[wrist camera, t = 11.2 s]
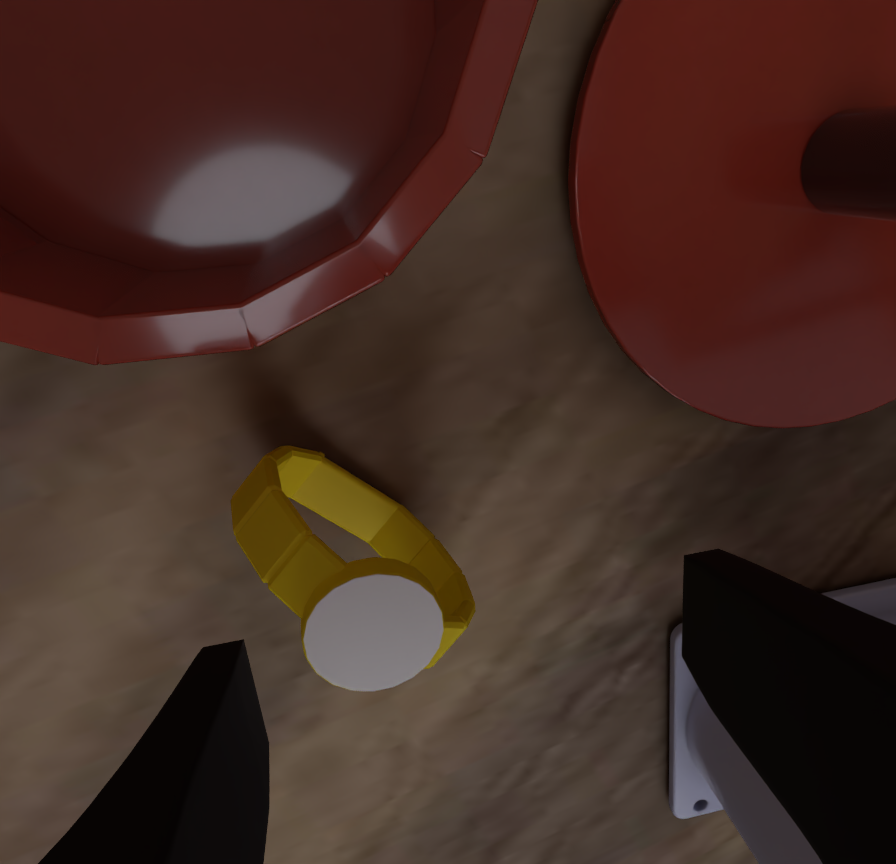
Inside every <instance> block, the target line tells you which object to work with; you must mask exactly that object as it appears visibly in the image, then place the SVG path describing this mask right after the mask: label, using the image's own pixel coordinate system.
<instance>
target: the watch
mask: <svg viewBox="0 0 896 864" xmlns="http://www.w3.org/2000/svg"><path fill="white" fill-rule="evenodd" d="M324 456H325V454H323V453H322V452H320V451H319V453H318V452H317V451H312V450H308V449H303V448H298V447H294V446H289V445H288V446H279V447H278V448H276V449H274V450H273V451H271V452H270V453H268V454H266V455H265V456H264V457H263V458H262V459H261V460H260V462H259V463H258V464H257V466H256V467H255V468H254V469H253V471H252V472H251V473H250V475H249V476H248V477H247V478H246V480H245V481H244V482H243V484H242V485H241V486H240V487H239V489H238V490H237V491H236V492H235V494H234V495H233V496H232V499H231V510H232V522H233V531H234V535H235V536H236V541H237V542H238V544H239V545H240V547H241V548H242V550H243V552H244V553H245V555H246V556H247V558H248V559H249V561H250V563H251V564H252V566H253V567H254V569H255V570H256V572H257V574H258V575H259V577H260V578H261V580H262V581H263V583H268V589H269V590H270V591H271V592H273V593H274V594H275V595H276V596H277V597H278V598H279V599H280V600H281V601H282V602H283V603H285V604H286V605H287V606H288V607H289V608H290V609H291V610H292V611H293V612H294V613H295V614H297V615H298V616H299V617H300V618H301V638H302V645H303V650H304V655H305V657H306V659H307V661H308V662H309V664H310V665H311V667H312V668H313V670H314V671H315V672H316V674H318V675H319V676H320V677H322V678H323V679H325V680H326V681H327V682H329V683H330V684H332V685H334V686H338V687H341V688H344V689H347V690H350V691H369V692H371V691H378V690H382V689H387V688H391V687H395V686H397V685H399V684H401V683H403V682H405V681H407V680H409V679H411V678H413V677H414V676H415V675H417V674H418V673H419V672H420V671H421V670H422V669H429V668H430V667H433V666H434V665H435V663H436V662H437V661H438V660H439V659H440V658H441V657H442V655H443V654H444V653H445V652H446V651H447V650H448V649H449V648H450V646H451V645H452V644H453V643H454V642H455V641H456V640H457V639H458V637H459V636H460V635H461V634H462V633H463V632H464V631H465V629H466V628H467V627H468V625H469V623H470V621H471V619H472V617H473V615H474V613H475V602H474V599H473V596H472V594H471V591H470V589H469V586H468V583H467V581H466V578H465V575H463V574H462V571H461V569H460V568H459V567H458V565H457V564H456V563H455V561H454V560H453V559H452V557H451V556H450V555H449V553H448V552H447V551H446V549H445V548H444V547H443V545H442V544H441V543H440V541H439V540H437V539H435V536H434V535H433V534H432V533H431V532H430V531H429V530H428V529H427V528H426V527H425V526H424V525H423V524H422V523H421V522H420V521H419V520H418V519H417V518H416V517H415V516H414V515H412V514H411V513H410V512H409V511H408V510H407V509H406V508H405V507H404V506H403V505H401V504H399V503H397V502H396V501H394V500H393V499H391V498H389V497H388V496H386V495H385V494H383V493H381V492H380V491H378V490H377V489H375V488H373V487H372V486H370V485H368V484H367V483H365V482H364V481H362V480H360V479H359V478H357V477H356V476H354V475H352V474H351V473H349V472H348V471H346V470H344V469H343V468H341V467H340V466H338V465H336V464H335V463H333V462H332V461H330V460H328V459H327V458H325V457H324ZM287 497H290V498H291V499H293V500H295V501H297V502H298V503H300V504H302V505H303V506H305V507H307V508H309V509H310V510H312V511H314V512H316V513H317V514H319V515H321V516H322V517H324V518H326V519H328V520H329V521H331V522H333V523H335V524H336V525H338V526H340V527H341V528H343V529H345V530H347V531H348V532H350V533H352V534H353V535H355V536H357V537H359V538H360V539H362V540H364V541H366V542H367V543H368V544H369V545H370V546H371V547H372V548H373V549H374V550H375V551H376V552H377V553H378V554H379V555H380V556H381V557H382V558H378V557H372V558H366V559H361V560H356V561H351V562H349V563H346V562H345V561H344V560H343V559H341V558H340V557H339V556H338V555H337V554H336V553H335V552H334V551H333V550H331V549H330V548H329V547H328V546H327V545H326V544H325V543H324V542H323V541H321V540H320V539H319V538H318V537H317V536H316V535H315V534H312V531H311V529H310V528H309V527H308V525H307V524H306V522H305V521H304V520H303V518H302V517H301V516H300V514H299V513H298V511H297V510H296V509H295V507H294V506H293V505H292V503H291V502H290V500H289V499H288V498H287Z"/></svg>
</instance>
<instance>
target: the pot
mask: <svg viewBox="0 0 896 864" xmlns="http://www.w3.org/2000/svg"><path fill="white" fill-rule="evenodd" d="M537 2H538V0H0V341H1V342H5V343H9V344H13V345H17V346H21V347H25V348H29V349H33V350H37V351H41V352H45V353H49V354H53V355H57V356H61V357H65V358H69V359H73V360H77V361H81V362H85V363H88V364H92V365H98V364H102V365H109V364H119V363H128V362H138V361H148V360H157V359H167V358H177V357H186V356H196V355H206V354H215V353H225V352H235V351H244V350H251V349H253V348H254V346H256V347H260V346H262V345H264V344H266V343H268V342H270V341H272V340H274V339H276V338H277V337H279V336H281V335H283V334H285V333H287V332H289V331H291V330H292V329H294V328H296V327H298V326H300V325H302V324H304V323H306V322H308V321H309V320H311V319H313V318H315V317H317V316H319V315H321V314H323V313H324V312H326V311H328V310H330V309H332V308H334V307H336V306H338V305H340V304H341V303H343V302H345V301H347V300H349V299H351V298H353V297H355V296H356V295H358V294H360V293H362V292H364V291H366V290H368V289H370V288H371V287H373V286H375V285H377V284H379V283H381V282H382V281H383V280H384V279H385V276H386V277H387V276H389V275H391V274H392V273H393V271H394V270H395V269H396V268H397V267H398V265H399V264H400V263H401V262H402V261H403V259H404V258H405V257H406V256H407V254H408V253H409V252H410V251H411V250H412V248H413V247H414V246H415V245H416V243H417V242H418V241H419V240H420V239H421V237H422V236H423V235H424V234H425V233H426V231H427V230H428V229H429V228H430V226H431V225H432V224H433V223H434V222H435V220H436V219H437V218H438V217H439V215H440V214H441V213H442V212H443V211H444V209H445V208H446V207H447V206H448V205H449V203H450V202H451V201H452V200H453V198H454V197H455V196H456V195H457V194H458V192H459V191H460V190H461V189H462V188H463V186H464V185H465V184H466V183H467V181H468V180H469V179H470V178H471V177H472V175H473V174H474V173H475V172H476V170H477V169H478V168H479V167H480V166H481V164H482V161H483V159H482V158H485V157H486V156H487V154H488V151H489V148H490V145H491V142H492V139H493V136H494V133H495V130H496V127H497V124H498V121H499V118H500V115H501V112H502V108H503V105H504V102H505V99H506V96H507V93H508V90H509V87H510V84H511V81H512V78H513V75H514V72H515V69H516V66H517V63H518V60H519V57H520V54H521V51H522V48H523V45H524V42H525V39H526V36H527V33H528V30H529V27H530V24H531V20H532V17H533V14H534V11H535V8H536V5H537Z"/></svg>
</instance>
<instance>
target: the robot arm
mask: <svg viewBox="0 0 896 864" xmlns="http://www.w3.org/2000/svg"><path fill="white" fill-rule="evenodd" d="M669 806H670V809H671V811H672V812H673V814H674V815H675V816H676V817H677V818H680V819H685V818H690V817H694V816H699V815H703V814H707V813H711V812H715V811H719V810H723V809H724V810H725V811H726V813H727V814H728V816H729V818H730V819H731V821H732V822H733V824H734V825H735V827H736V829H737V830H738V832H739V833H740V835H741V836H742V838H743V839H744V841H745V843H746V844H747V846H748V847H749V849H750V850H751V852H752V853H753V855H754V857H755V858H756V860H757V861H758V863H759V864H896V578H892V579H888V580H883V581H878V582H873V583H868V584H864V585H859V586H854V587H849V588H845V589H840V590H835V591H830V592H825V593H818V592H816V591H814V590H812V589H809V588H807V587H805V586H803V585H801V584H798V583H796V582H794V581H792V580H790V579H787V578H785V577H783V576H781V575H779V574H777V573H774V572H772V571H770V570H768V569H766V568H763V567H761V566H759V565H757V564H754V563H752V562H750V561H748V560H745V559H743V558H741V557H738V556H736V555H733V554H731V553H728V552H726V551H723V550H720V549H715V550H709V551H704V552H699V553H694V554H688V555H684V575H683V618H682V623H681V624H679V625H678V626H676V627H675V628H674V630H673V631H672V633H671V637H670V718H669ZM268 815H269V741H268V737H267V733H266V729H265V725H264V721H263V717H262V712H261V708H260V704H259V700H258V696H257V692H256V688H255V684H254V680H253V676H252V672H251V668H250V663H249V659H248V655H247V651H246V647H245V643H244V640H239V641H233V642H228V643H223V644H218V645H212V646H207V647H203V648H202V649H201V651H200V652H199V653H198V655H197V656H196V657H195V659H194V660H193V662H192V663H191V665H190V666H189V668H188V670H187V671H186V673H185V674H184V676H183V677H182V679H181V680H180V682H179V683H178V685H177V686H176V688H175V689H174V691H173V692H172V694H171V695H170V697H169V698H168V700H167V701H166V703H165V704H164V706H163V707H162V709H161V710H160V712H159V713H158V715H157V716H156V718H155V719H154V720H153V722H152V723H151V725H150V726H149V727H148V729H147V730H146V732H145V733H144V734H143V736H142V737H141V739H140V740H139V742H138V743H137V744H136V746H135V747H134V749H133V750H132V751H131V753H130V754H129V755H128V757H127V758H126V759H125V761H124V762H123V763H122V765H121V766H120V767H119V769H118V770H117V771H116V772H115V774H114V775H113V776H112V777H111V779H110V780H109V781H108V783H107V784H106V785H105V786H104V788H103V789H102V790H101V792H100V793H99V794H98V795H97V797H96V798H95V799H94V800H93V802H92V803H91V804H90V806H89V807H88V808H87V809H86V810H85V812H84V813H83V814H82V815H81V816H80V818H79V819H78V820H77V821H76V822H75V823H74V825H73V826H72V827H71V828H70V829H69V830H68V832H67V833H66V834H65V835H64V836H63V837H62V838H61V839H60V840H59V842H58V843H57V844H56V845H55V846H54V847H53V848H52V849H51V850H50V851H49V852H48V853H47V855H46V856H45V857H44V858H43V859H42V860H41V861H40V862H39V863H38V864H263V862H264V853H265V843H266V834H267V825H268Z"/></svg>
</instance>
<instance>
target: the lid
mask: <svg viewBox="0 0 896 864" xmlns="http://www.w3.org/2000/svg"><path fill="white" fill-rule="evenodd" d="M568 191H569V207H570V223H571V228H572V233H573V238H574V244H575V249H576V254H577V259H578V262H579V265H580V269H581V272H582V275H583V278H584V281H585V284H586V287H587V290H588V293H589V295H590V297H591V299H592V301H593V303H594V305H595V307H596V309H597V311H598V313H599V316H600V318H601V320H602V322H603V324H604V325H605V327H606V328H607V329H608V331H609V332H610V334H611V335H612V337H613V338H614V340H615V341H616V343H617V344H618V346H619V347H620V349H621V350H622V351H623V352H624V353H625V354H626V355H627V357H628V358H629V359H630V360H631V361H632V362H633V363H634V364H635V365H636V366H637V367H638V369H639V370H640V371H641V372H642V373H643V374H645V375H646V376H647V377H648V378H650V379H651V380H652V381H653V382H655V383H656V384H657V385H658V386H660V387H661V388H662V389H663V390H665V391H666V392H668V393H669V394H671V395H672V396H674V397H676V398H678V399H679V400H681V401H683V402H685V403H686V404H688V405H690V406H692V407H693V408H695V409H697V410H699V411H702V412H704V413H707V414H710V415H712V416H715V417H717V418H720V419H723V420H726V421H731V422H735V423H740V424H744V425H749V426H755V427H769V428H795V427H810V426H816V425H821V424H826V423H831V422H836V421H841V420H844V419H847V418H851V417H854V416H857V415H860V414H863V413H866V412H869V411H872V410H874V409H876V408H878V407H880V406H882V405H885V404H887V403H889V402H891V401H893V400H895V399H896V0H616V1H615V3H614V4H613V6H612V8H611V10H610V12H609V13H608V15H607V18H606V20H605V22H604V25H603V27H602V30H601V32H600V34H599V37H598V39H597V41H596V44H595V46H594V49H593V51H592V53H591V56H590V59H589V62H588V66H587V69H586V72H585V76H584V79H583V83H582V86H581V90H580V93H579V96H578V100H577V106H576V112H575V117H574V123H573V129H572V135H571V140H570V156H569V173H568Z"/></svg>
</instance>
